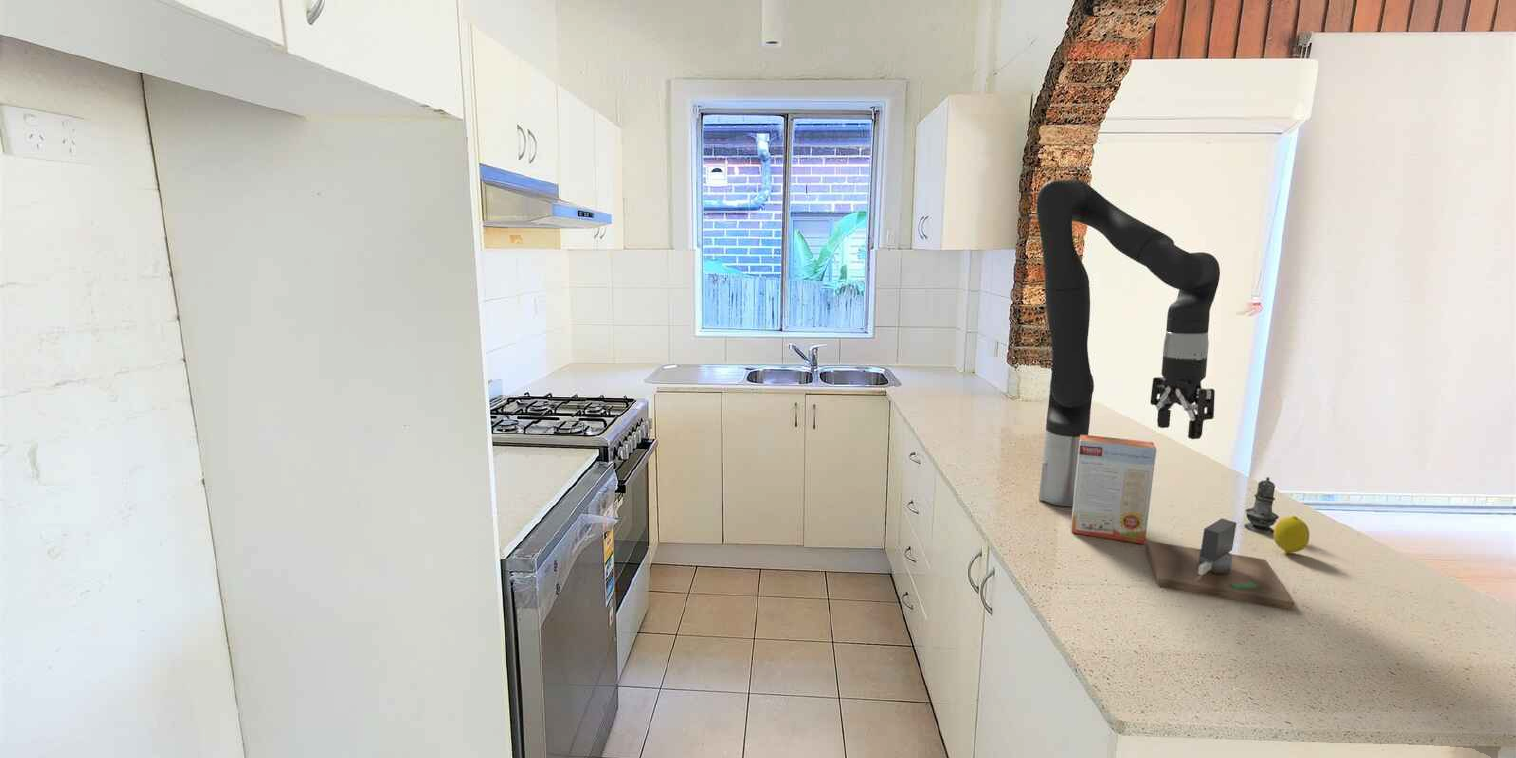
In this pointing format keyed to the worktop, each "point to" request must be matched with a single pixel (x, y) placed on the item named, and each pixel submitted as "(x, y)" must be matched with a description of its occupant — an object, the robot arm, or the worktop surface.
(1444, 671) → the worktop surface
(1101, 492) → the cracker box
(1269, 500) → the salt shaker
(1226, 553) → the dial pointer knob
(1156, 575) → the dial plate
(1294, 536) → the lemon
